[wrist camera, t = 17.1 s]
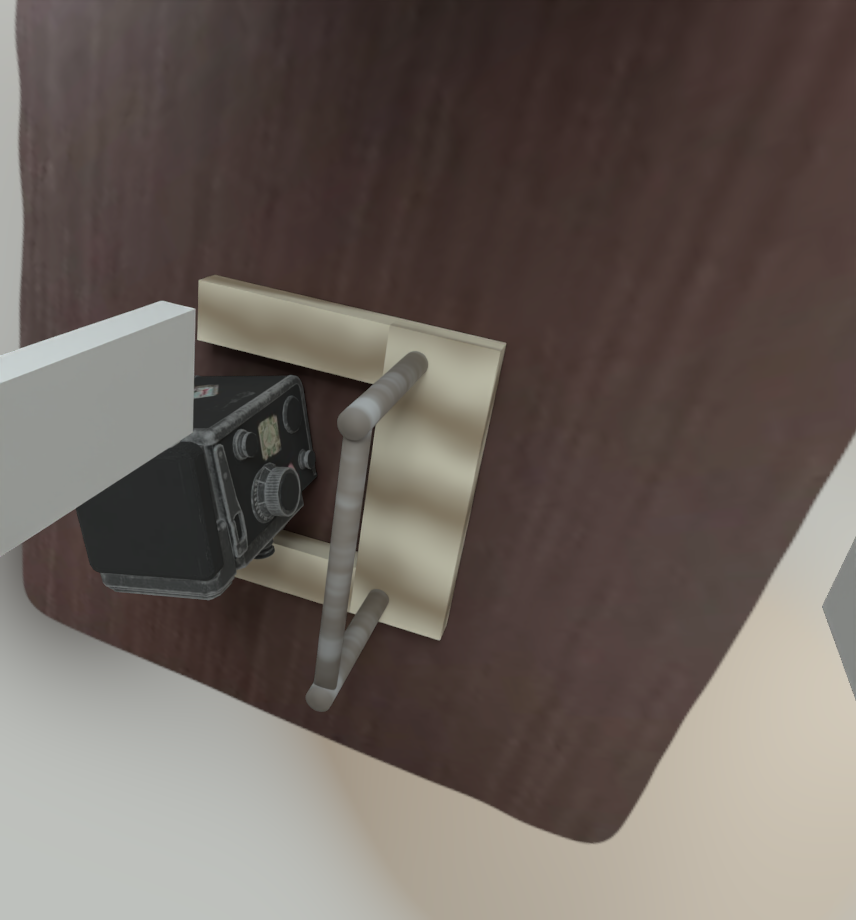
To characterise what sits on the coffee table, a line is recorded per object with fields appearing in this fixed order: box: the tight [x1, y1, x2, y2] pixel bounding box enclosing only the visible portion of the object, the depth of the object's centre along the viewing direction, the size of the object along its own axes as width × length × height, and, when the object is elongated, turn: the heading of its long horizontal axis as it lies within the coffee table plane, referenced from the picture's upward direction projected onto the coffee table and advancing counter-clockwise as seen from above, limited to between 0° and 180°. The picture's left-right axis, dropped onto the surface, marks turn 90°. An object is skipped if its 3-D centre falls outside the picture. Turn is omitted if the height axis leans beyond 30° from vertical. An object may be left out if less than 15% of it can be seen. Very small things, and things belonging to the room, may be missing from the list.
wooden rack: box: [197, 275, 506, 712], centre depth 47 cm, size 22×20×13 cm
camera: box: [76, 375, 317, 600], centre depth 47 cm, size 10×10×15 cm
